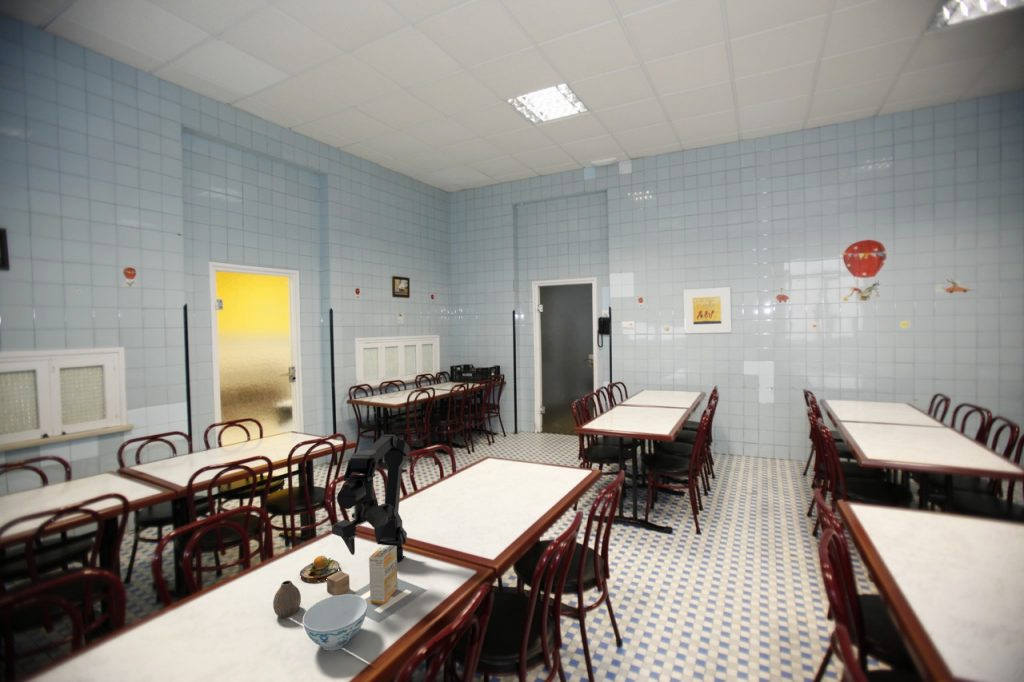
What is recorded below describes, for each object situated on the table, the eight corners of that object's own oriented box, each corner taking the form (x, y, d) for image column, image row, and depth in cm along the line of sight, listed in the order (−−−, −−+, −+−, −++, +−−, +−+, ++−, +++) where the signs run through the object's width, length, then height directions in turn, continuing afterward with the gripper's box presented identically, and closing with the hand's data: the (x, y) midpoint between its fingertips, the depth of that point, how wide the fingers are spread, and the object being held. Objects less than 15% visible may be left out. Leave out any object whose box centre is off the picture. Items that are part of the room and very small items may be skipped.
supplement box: (385, 604, 130) (383, 558, 130) (369, 603, 131) (368, 557, 131) (398, 588, 138) (397, 545, 138) (384, 587, 139) (382, 544, 139)
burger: (340, 562, 158) (340, 540, 157) (339, 579, 146) (338, 556, 146) (302, 568, 154) (301, 546, 154) (297, 586, 143) (296, 562, 143)
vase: (306, 608, 131) (305, 577, 130) (287, 623, 124) (286, 591, 124) (287, 604, 133) (286, 574, 133) (267, 619, 126) (266, 587, 126)
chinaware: (306, 671, 106) (304, 638, 106) (302, 634, 119) (301, 604, 119) (373, 649, 113) (372, 617, 113) (362, 616, 126) (361, 588, 126)
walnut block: (327, 594, 138) (326, 577, 138) (340, 587, 142) (339, 570, 141) (336, 598, 135) (335, 581, 135) (349, 591, 139) (349, 574, 139)
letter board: (336, 604, 132) (336, 602, 132) (386, 575, 147) (386, 573, 147) (379, 625, 122) (379, 622, 122) (427, 592, 137) (427, 590, 137)
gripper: (354, 512, 126) (357, 569, 126) (406, 491, 141) (408, 542, 142) (329, 504, 132) (331, 558, 132) (381, 485, 147) (383, 534, 148)
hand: (365, 548), depth 138 cm, fingers open, 9 cm apart
